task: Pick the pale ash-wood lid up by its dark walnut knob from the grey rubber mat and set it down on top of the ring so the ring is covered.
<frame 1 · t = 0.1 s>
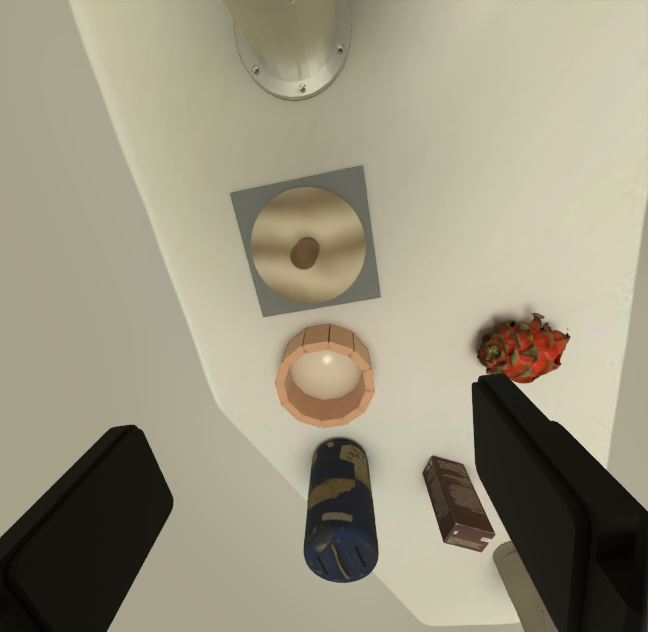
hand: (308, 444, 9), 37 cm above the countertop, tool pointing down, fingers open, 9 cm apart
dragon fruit: (508, 337, 47), on the countertop
thermos bottle: (514, 553, 62), on the countertop
box: (442, 468, 55), on the countertop
ring: (326, 365, 49), on the countertop
canister: (339, 457, 56), on the countertop
lid: (308, 247, 43), resting on mat
mat: (309, 247, 43), on the countertop
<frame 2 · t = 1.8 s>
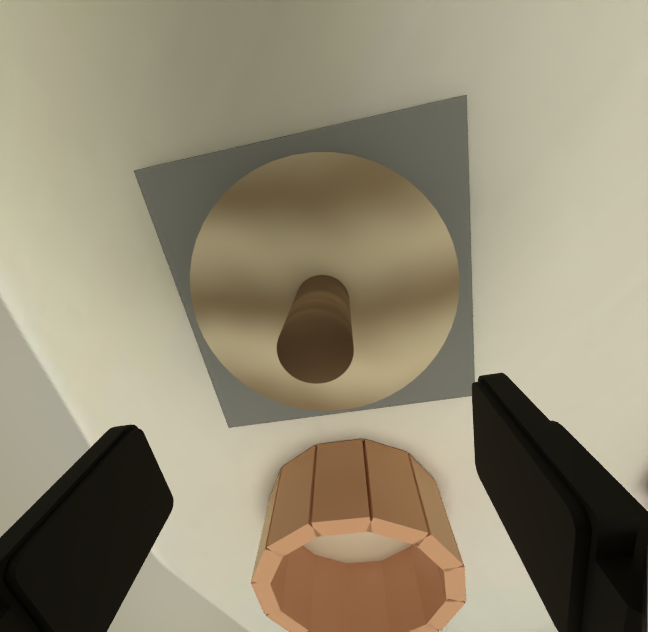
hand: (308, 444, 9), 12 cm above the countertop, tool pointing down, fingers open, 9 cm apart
ring: (353, 505, 26), on the countertop
lid: (323, 295, 19), resting on mat
mat: (323, 292, 19), on the countertop
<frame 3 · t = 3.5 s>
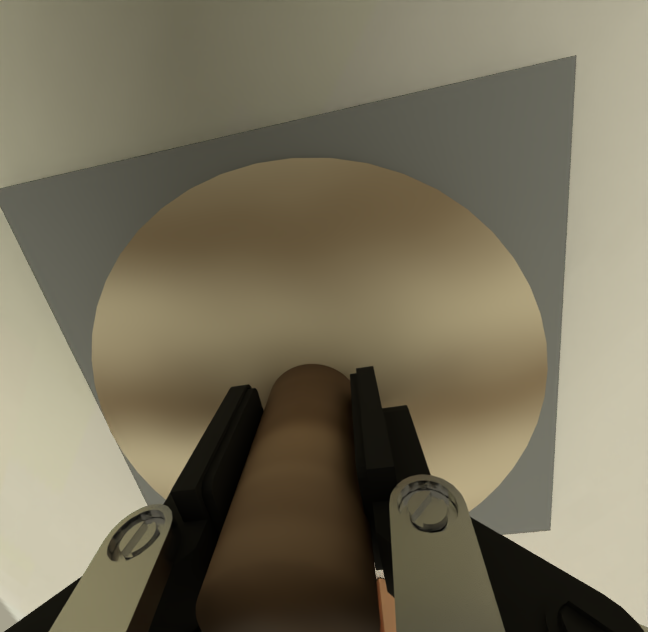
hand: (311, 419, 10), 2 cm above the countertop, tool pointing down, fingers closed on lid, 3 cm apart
lid: (315, 387, 12), point 1 cm above the countertop, touching gripper, mat
mat: (316, 380, 12), on the countertop
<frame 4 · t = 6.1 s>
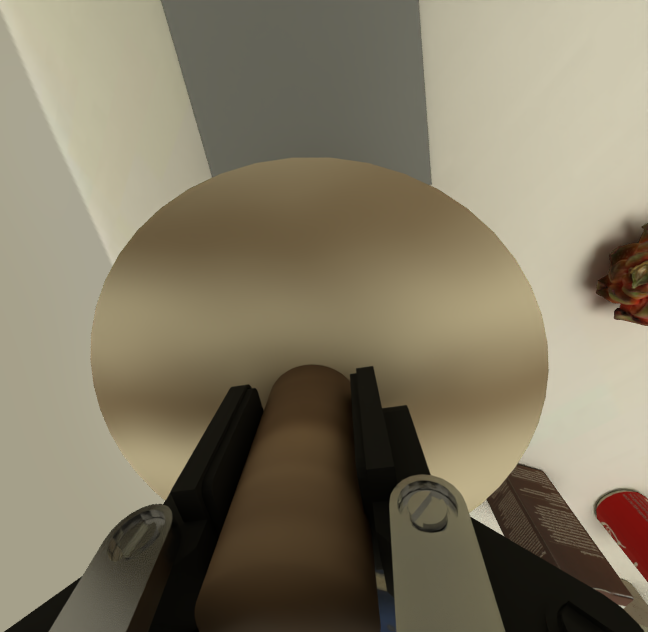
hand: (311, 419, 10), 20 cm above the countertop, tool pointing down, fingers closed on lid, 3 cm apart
soda can: (616, 503, 37), on the countertop
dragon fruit: (645, 260, 28), on the countertop
thermos bottle: (601, 594, 43), on the countertop
box: (509, 476, 37), on the countertop
canister: (354, 460, 37), on the countertop
lid: (315, 387, 12), point 18 cm above the countertop, touching gripper
mat: (304, 86, 24), on the countertop
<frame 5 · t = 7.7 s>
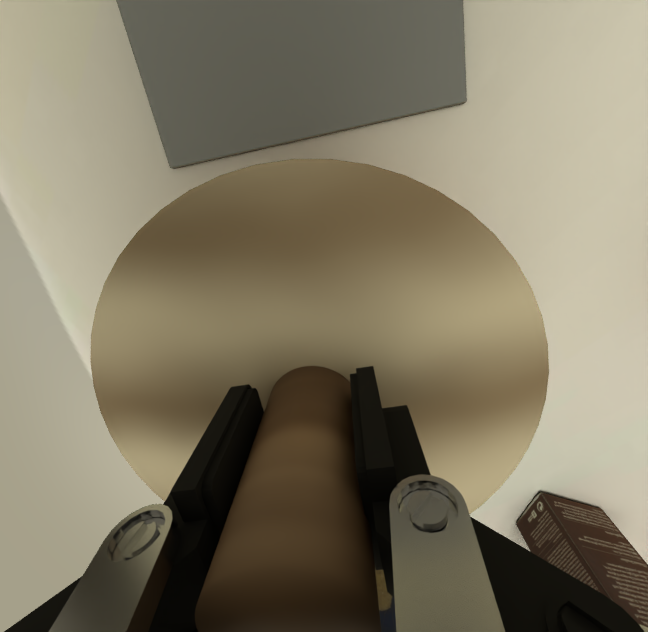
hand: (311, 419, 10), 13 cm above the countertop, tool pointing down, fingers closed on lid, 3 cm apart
box: (555, 514, 28), on the countertop
canister: (352, 492, 28), on the countertop
lid: (315, 389, 12), point 11 cm above the countertop, touching gripper
when the fingers open (9 cm above the countertop, at t = 9.0 s): lid drops 1 cm, resting on ring.
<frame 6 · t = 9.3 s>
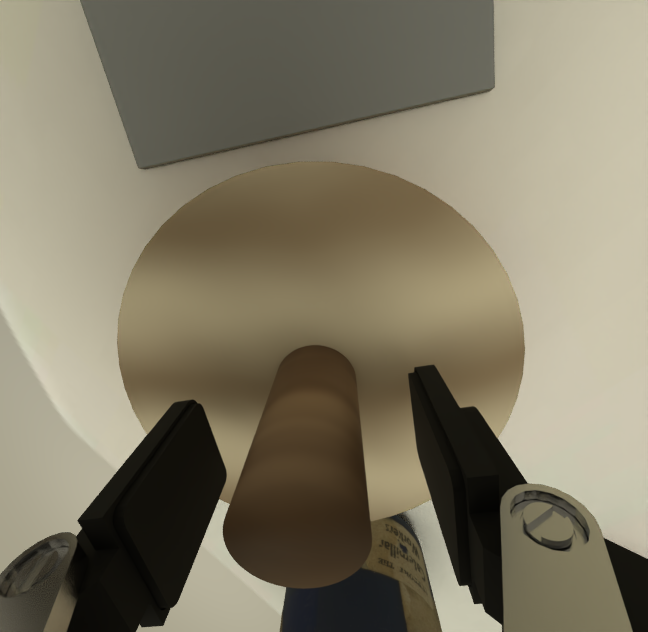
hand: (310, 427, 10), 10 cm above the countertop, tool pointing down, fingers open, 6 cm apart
canister: (355, 535, 25), on the countertop
lid: (317, 368, 13), point 6 cm above the countertop, touching ring
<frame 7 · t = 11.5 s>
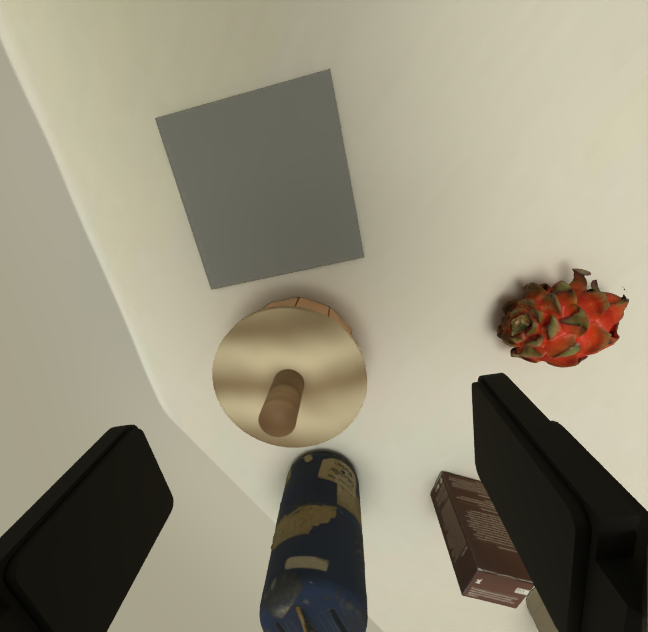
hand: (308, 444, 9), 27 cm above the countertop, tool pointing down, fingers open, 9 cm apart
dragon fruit: (538, 308, 35), on the countertop
thermos bottle: (553, 597, 48), on the countertop
box: (455, 487, 43), on the countertop
ring: (298, 353, 38), on the countertop
canister: (322, 474, 43), on the countertop
lid: (290, 378, 32), point 6 cm above the countertop, touching ring
mat: (265, 191, 33), on the countertop
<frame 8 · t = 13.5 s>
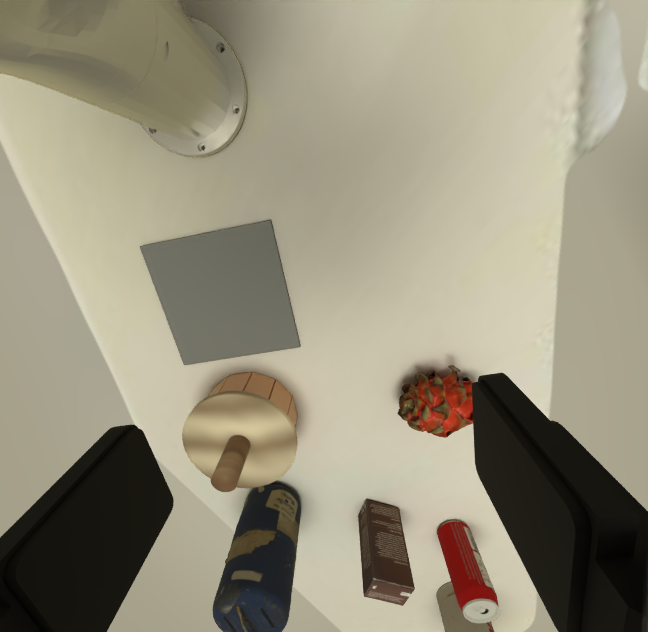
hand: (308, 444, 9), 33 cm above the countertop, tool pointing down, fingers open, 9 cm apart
soda can: (452, 529, 55), on the countertop
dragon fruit: (433, 385, 46), on the countertop
thermos bottle: (457, 593, 61), on the countertop
box: (378, 510, 55), on the countertop
ring: (252, 411, 49), on the countertop
canister: (274, 499, 55), on the countertop
lid: (241, 439, 43), point 6 cm above the countertop, touching ring
mat: (224, 297, 43), on the countertop
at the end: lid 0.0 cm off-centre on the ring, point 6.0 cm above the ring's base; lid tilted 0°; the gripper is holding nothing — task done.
